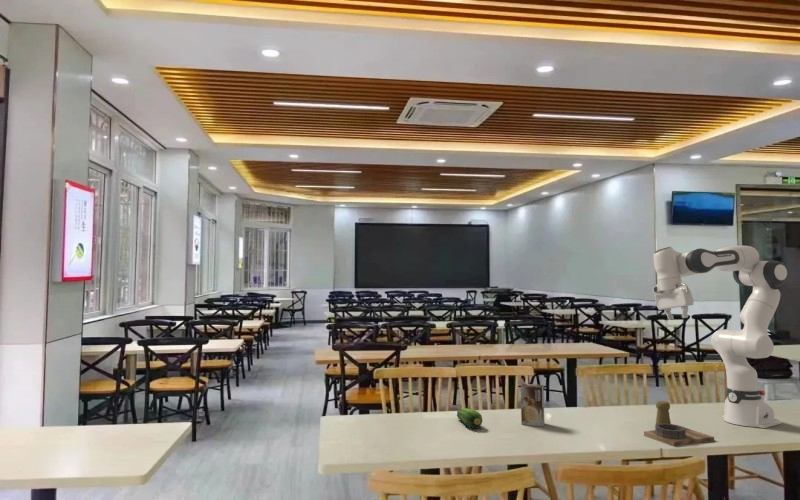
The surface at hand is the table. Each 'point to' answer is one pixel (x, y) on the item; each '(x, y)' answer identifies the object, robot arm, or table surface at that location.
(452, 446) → the table surface
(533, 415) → the coffee box
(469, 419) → the vegetable
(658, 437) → the caddy board
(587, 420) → the table surface
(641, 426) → the table surface
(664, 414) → the cork
